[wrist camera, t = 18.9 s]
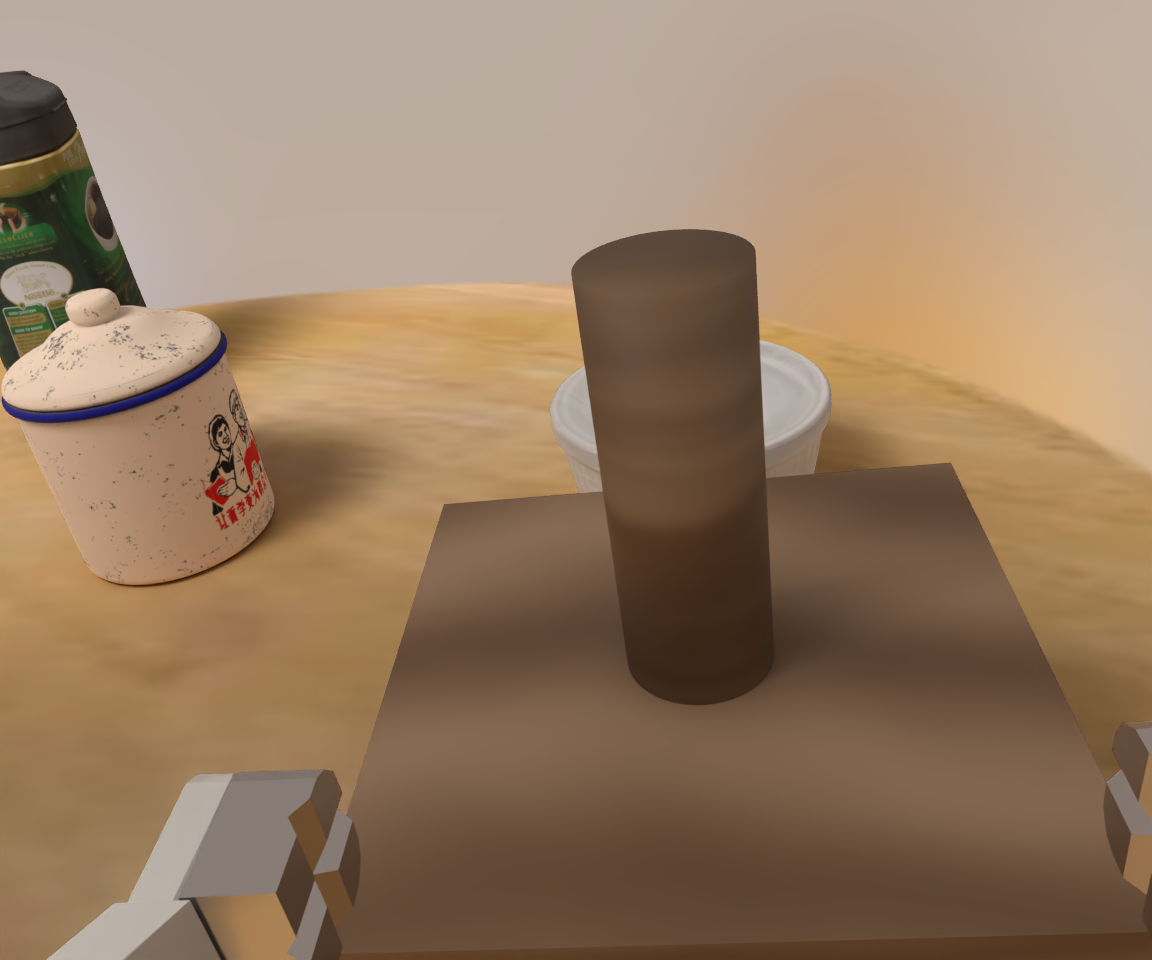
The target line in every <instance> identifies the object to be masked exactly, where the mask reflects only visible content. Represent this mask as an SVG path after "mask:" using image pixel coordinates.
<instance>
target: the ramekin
mask: <svg viewBox="0 0 1152 960" xmlns="http://www.w3.org/2000/svg"><path fill="white" fill-rule="evenodd" d="M760 360H761V381H762V402H763V424H764V445H765V467H766V478H771V477H784V476H796V475H808V474H814V471H815V467H816V462H817V457H818V452H819V447H820V441H821V436H822V432H823V430H824V429H825V427H826V425H827V423H828V420H829V417H830V412H831V389H830V385H829V382H828V379H827V377H826V376H825V375H824V373H823V372H822V370H821V369H820V368H819V367H818V366H816V365H815V364H814V363H813V362H812V361H811V360H809V359H808V358H806V357H805V356H803V355H801V354H799V353H797V352H795V351H793V350H791V349H789V348H786V347H783V346H781V345H778V344H774V343H771V342H767V341H762V340H760ZM550 416H551V422H552V428H553V432H554V435H555V437H556V439H557V441H558V443H559V445H560V446H561V448H562V449H563V450H564V451H565V453H566V456H567V459H568V462H569V465H570V468H571V471H572V474H573V476H574V479H575V482H576V485H577V488H578V490H579V493H589V492H601V491H603V489H602V482H601V475H600V468H599V461H598V454H597V447H596V440H595V433H594V426H593V419H592V413H591V406H590V399H589V392H588V385H587V378H586V371H585V366H584V367H582V368H580V369H579V370H577V371H576V372H575V373H573V374H572V375H571V376H570V377H568V378H567V379H566V380H565V381H564V382H563V383H562V385H561V386H560V387H559V389H558V390H557V392H556V393H555V395H554V397H553V400H552V403H551V406H550Z"/></svg>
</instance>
